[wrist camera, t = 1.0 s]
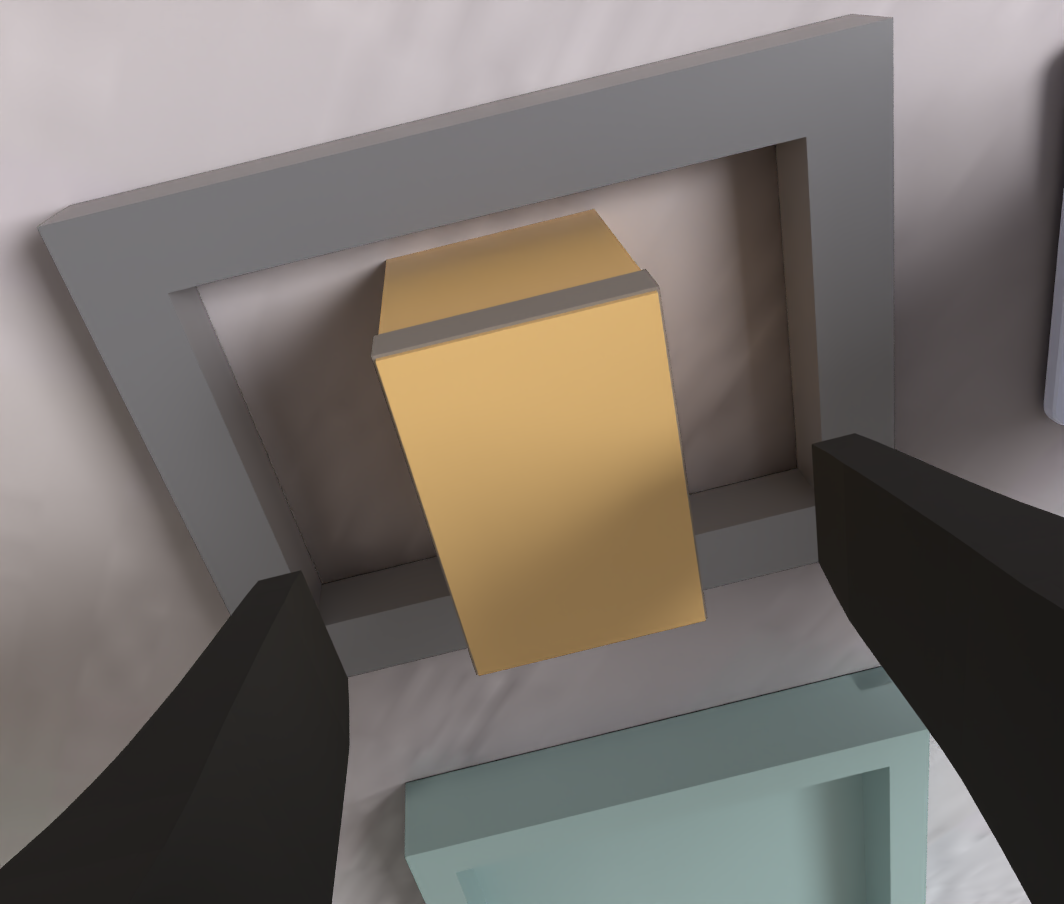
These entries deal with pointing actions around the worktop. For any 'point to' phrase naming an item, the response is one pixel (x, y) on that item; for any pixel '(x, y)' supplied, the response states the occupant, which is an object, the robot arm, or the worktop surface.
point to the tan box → (542, 438)
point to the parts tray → (694, 809)
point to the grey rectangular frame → (481, 189)
